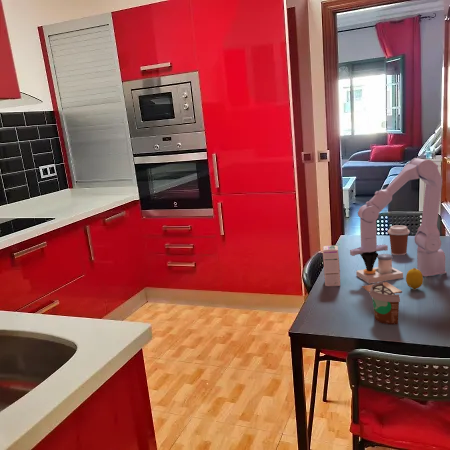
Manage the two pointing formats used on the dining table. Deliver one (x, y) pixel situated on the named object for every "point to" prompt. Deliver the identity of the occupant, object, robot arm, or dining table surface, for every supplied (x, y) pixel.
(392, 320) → the food container
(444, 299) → the dining table surface
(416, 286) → the lemon
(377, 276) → the beige flat frame
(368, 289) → the birch board
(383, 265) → the cylinder
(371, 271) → the orange dome button
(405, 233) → the coffee cup
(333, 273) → the syrup box
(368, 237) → the robot arm
